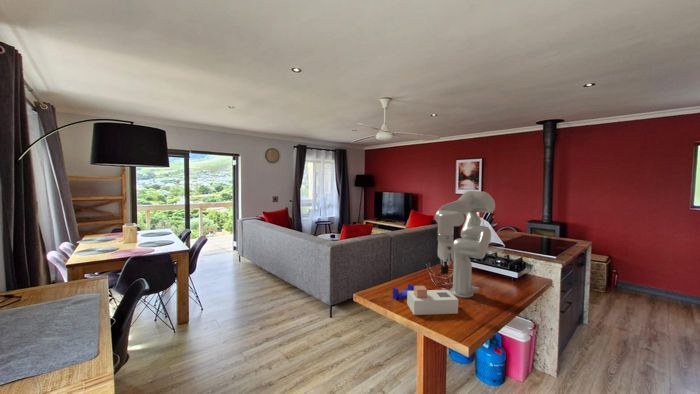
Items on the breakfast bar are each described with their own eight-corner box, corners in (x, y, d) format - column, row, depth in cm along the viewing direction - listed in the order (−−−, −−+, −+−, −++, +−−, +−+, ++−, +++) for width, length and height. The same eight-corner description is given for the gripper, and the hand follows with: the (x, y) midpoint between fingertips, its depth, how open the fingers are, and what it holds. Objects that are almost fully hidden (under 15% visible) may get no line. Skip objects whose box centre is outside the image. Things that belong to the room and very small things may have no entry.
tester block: (447, 302, 152) (448, 289, 151) (457, 313, 140) (458, 299, 140) (407, 303, 150) (407, 290, 150) (414, 314, 138) (414, 300, 138)
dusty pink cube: (423, 297, 147) (423, 285, 147) (426, 302, 142) (427, 289, 142) (413, 298, 147) (414, 285, 146) (417, 302, 142) (417, 289, 141)
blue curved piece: (408, 293, 164) (408, 283, 164) (413, 296, 160) (413, 285, 160) (391, 297, 159) (391, 286, 158) (396, 300, 155) (396, 289, 154)
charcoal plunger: (445, 304, 148) (446, 292, 148) (449, 309, 143) (450, 296, 143) (436, 305, 148) (436, 292, 147) (440, 309, 143) (440, 296, 142)
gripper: (459, 241, 136) (458, 278, 137) (446, 234, 151) (445, 268, 152) (444, 241, 135) (443, 279, 137) (432, 234, 150) (431, 268, 152)
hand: (444, 273), depth 145 cm, fingers closed
